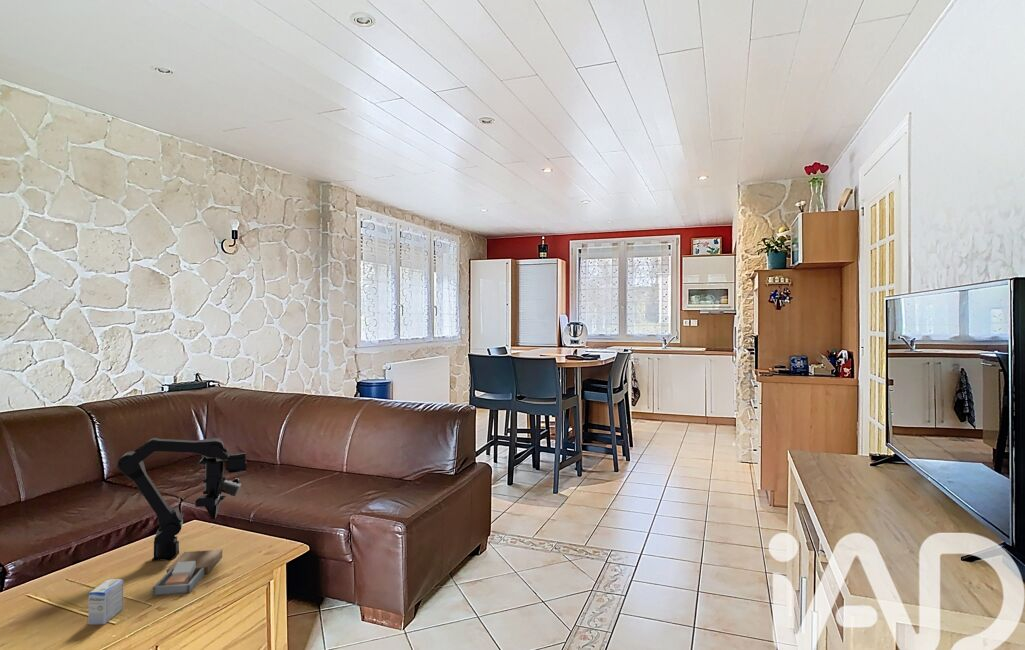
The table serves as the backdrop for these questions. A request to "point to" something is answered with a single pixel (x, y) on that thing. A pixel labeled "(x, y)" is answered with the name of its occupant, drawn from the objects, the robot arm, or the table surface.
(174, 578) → the tile terracotta
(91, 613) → the medicine box
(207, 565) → the walnut board
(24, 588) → the table surface
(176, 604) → the table surface
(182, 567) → the white block
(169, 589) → the tray
